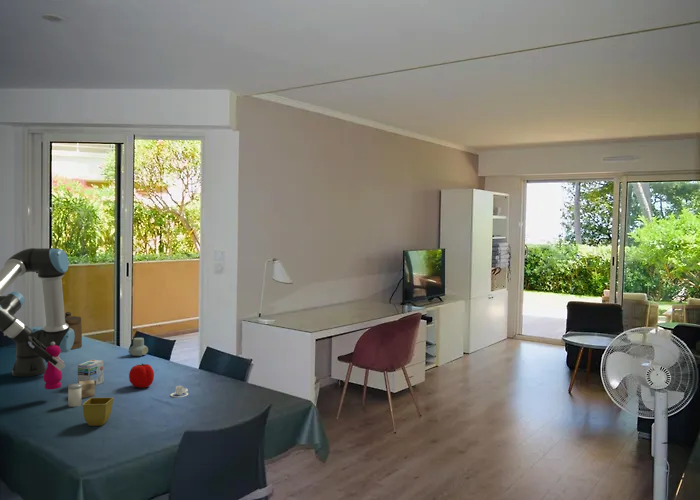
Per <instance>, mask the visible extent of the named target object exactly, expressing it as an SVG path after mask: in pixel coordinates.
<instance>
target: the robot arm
mask: <svg viewBox="0 0 700 500" xmlns="http://www.w3.org/2000/svg"><path fill="white" fill-rule="evenodd" d="M68 257H69V256H68V255H67V253H66V252H65V250H63V249H61V248H54V247H52V248H50V247H49V248H46V247H45V248H41V247H40V248H39V247H38V248H35V247H34V248H33V247H32V248H31V247H30V248H25V249H23V250H20V251H18V252H17V253H14V254H13V255H12V256H10V257H9V258H8V259H7V260H6V261H5V262H4V265H3V267H2V268H1V269H0V332H2V333H3V336H4V337H5V336H7V337H8V338H10V339H12V341H13V342H14V343H15V362H14V363H13V364H14V365H13V367H12V370H11V375H12V376H13V377H22V378H23V377H27V378H28V377H34V376H39V375H44V373H45V371H46V369H47V365H46V363H47V362H50V363H51V364H52V365H53V366H55V367H56V368H57V369H59V370H60V371H61V372H62V370H63V369H64V368H65V367H66V365H65V361H64V360H62V359H61V358H60V357H59V360H57V359H56V358H55V357H54V356H53V357H52V355H50V354H49V353H48V352H47V351H45V349H46V348H47V347H48V346H51V342H55V345H57V346H59V347H60V350H61V352H60V354H63V353H64V354H65V353H68V352H69V351H71V350H72V349H71V348H72V346H73V343H74V337H75V334H74V331H73V330H69V325H68V324H67V323H65V316H66V315H65V313H66V312H65V303H64V290H63V281H62V279H63V277H65V275H66V274H65V273H66V272H67V271H68V269H69V264H70V263H69V258H68ZM26 273H37V275H38V278H39V279H40V280H41V283H42V291H43V292H42V293H43V294H42V295H43V303H44V315H45V323H46V324H45V326H40V325H39V326H30V327H28V326H27V325H26V324H25V323H23V321H21V320H20V319H19V318H17V317H16V316H15V314H17V312H18V311H20V309H21V308H22V306H23V305H24V303H25V296H24V295H23V294H22V293H20V292H19V291H10V292H9V293H8V294H6V295H3V294H4V293H5V292H6V291H7V289H9V287H10V286H12V284H13V283H14V282H15V281H16V280H17V279H18V278H19V277H22V276H23V275H25V274H26ZM47 364H48V363H47Z"/></svg>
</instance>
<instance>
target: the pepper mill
mask: <svg viewBox="0 0 700 500" xmlns="http://www.w3.org/2000/svg"><path fill="white" fill-rule="evenodd" d="M45 351H47V352H48V353H49V354H50V355H52V357H53V356H54V357H55V358H56V359H57V360H59V358H60V354H61V353H60V352H61V350H60V347H59V346H57V345H55V342H51V346H48V347H47V348H46V349H45ZM62 379H63V373H62V370H61V371H60V370H59V369H57V368H56V367H55V366H53V365H52V364H51V363H50V362H47V365H46V371H45V373H43V381H44V382H45V383H44V389H45V390H57V389H60V388H61V387H62V382H61V380H62Z"/></svg>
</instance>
